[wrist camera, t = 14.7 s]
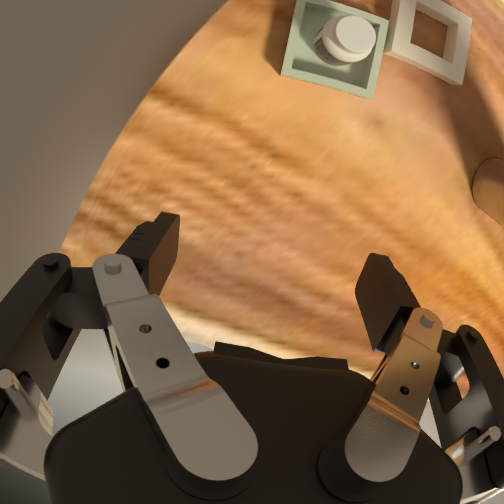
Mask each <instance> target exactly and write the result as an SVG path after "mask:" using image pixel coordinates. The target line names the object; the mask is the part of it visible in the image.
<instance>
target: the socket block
mask: <svg viewBox="0 0 504 504" xmlns="http://www.w3.org/2000/svg"><path fill="white" fill-rule="evenodd" d="M415 10H418V11H420V12H422V13H424V14H426V15H428V16H430V17H432V18H434V19H435V20H437V21H439V22H441V23H443V24H445V25H446V26H448V27H447V34H446V40H445V47H444V53H443V58H441V57H439V56H437V55H435V54H433V53H431V52H429V51H427V50H425V49H423V48H421V47H419V46H416V45H414V44H412V43H410V41H411V35H412V29H413V23H414V17H415ZM471 25H472V19H471V18H470V17H468V16H467V15H465V14H463V13H462V12H460V11H459V10H457V9H455V8H454V7H452V6H450V5H448V4H447V3H445V2H443V1H441V0H392V6H391V12H390V18H389V24H388V29H387V35H386V40H385V45H384V50H383V53H384V54H386V55H389V56H391V57H394V58H396V59H399V60H401V61H404V62H406V63H408V64H410V65H413V66H415V67H417V68H419V69H421V70H424V71H426V72H428V73H430V74H432V75H434V76H436V77H438V78H440V79H442V80H444V81H446V82H447V83H449V84H453V85H462V84H463V79H464V73H465V68H466V62H467V56H468V49H469V42H470V34H471Z"/></svg>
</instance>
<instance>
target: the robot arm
mask: <svg viewBox="0 0 504 504" xmlns="http://www.w3.org/2000/svg"><path fill="white" fill-rule="evenodd" d="M472 193H473V198H474V201H475V203H476V205H477V206H478V207H479V208H480V209H481V210H482V211H484V212H485V213H486V214H487V215H489V216H490V217H491V218H492V219H494V220H495V221H496V222H497V223H498V224H500V225H501V226H502V227H503V228H504V161H502V160H500V159H498V158H490V159H488V160H486V161H485V162H483V163H482V164H481V165H480V167H479V168H478V170H477V172H476V174H475V176H474V180H473V186H472ZM179 226H180V215H178V214H172V213H167V212H161V213H160V214H159V215H158V217H157V218H156V219H155V220H154V222H150V221H146V222H144V223H142V224H140V225H138V226H137V227H136V229H135V230H134V231H133V233H131V235H130V236H129V237H128V239H127V240H126V241H125V242H124V243H123V244H122V246H121V247H120V248H119V249H118V251H117V252H116V253H115V254H108V255H104V256H101V257H99V258H98V259H97V260H95V262H94V263H93V266H92V267H71V263H70V259H69V258H68V257H67V256H66V255H64V254H61V253H51V254H47V255H44V256H42V257H40V258H38V259H37V260H36V261H35V262H34V263H33V265H32V266H31V267H30V268H29V269H28V270H27V271H26V272H25V274H24V275H23V276H22V277H21V278H20V279H19V281H18V282H17V283H16V284H15V285H14V286H13V288H12V289H11V290H10V291H9V292H8V294H7V295H6V296H5V298H4V299H3V300H2V301H1V302H0V465H1V466H3V467H6V468H16V467H18V468H20V469H22V470H24V471H26V472H28V473H30V474H32V475H34V476H36V477H38V478H40V479H42V480H45V481H46V485H47V490H48V497H49V504H479V503H481V502H483V501H485V500H487V499H489V498H491V497H492V496H494V495H496V494H498V493H499V492H501V491H503V490H504V379H503V377H502V374H501V372H500V370H499V368H498V366H497V364H496V362H495V360H494V358H493V356H492V354H491V352H490V350H489V348H488V346H487V344H486V343H485V341H484V339H483V337H482V336H481V334H480V333H479V332H478V331H477V330H476V329H474V328H473V327H471V326H469V325H461V326H460V327H459V328H458V330H457V331H456V333H452V332H450V331H447V330H444V329H443V324H442V322H441V320H440V319H439V317H438V316H437V315H436V314H434V313H433V312H431V311H430V310H428V309H425V308H421V307H420V305H419V303H418V301H417V299H416V298H415V296H414V294H413V292H411V289H410V287H409V285H408V283H407V282H406V280H405V278H404V277H403V276H402V275H401V274H400V273H399V272H398V271H397V270H396V269H395V267H394V266H393V264H392V262H391V261H390V259H389V257H388V256H385V255H380V254H376V253H370V254H369V256H368V258H367V260H366V262H365V265H364V267H363V269H362V272H361V274H360V276H359V279H358V281H357V284H356V288H355V296H356V299H357V302H358V305H359V308H360V311H361V314H362V317H363V320H364V323H365V327H366V330H367V333H368V336H369V339H370V343H371V346H372V349H373V352H385V356H384V357H383V359H382V360H381V362H380V364H379V365H378V367H377V369H376V370H375V372H374V374H373V375H372V377H371V379H370V380H369V379H368V378H366V377H365V376H363V375H361V374H359V373H357V372H355V371H352V370H349V368H348V364H347V359H336V358H326V357H307V358H296V359H281V358H278V357H275V356H272V355H270V354H267V353H264V352H261V351H258V350H255V349H253V348H250V347H244V346H238V345H233V344H227V343H221V342H215V347H214V351H206V352H198V353H194V354H193V353H192V351H191V350H190V348H189V346H188V345H187V343H186V342H185V340H184V338H183V337H182V335H181V333H180V332H179V330H178V328H177V327H176V325H175V323H174V322H173V320H172V318H171V317H170V315H169V313H168V311H167V310H166V308H165V306H164V304H163V303H162V301H161V299H160V297H159V295H160V293H161V291H162V288H163V286H164V284H165V282H166V280H167V278H168V276H169V274H170V272H171V270H172V268H173V265H174V263H175V261H176V257H177V251H178V239H179ZM81 329H103V333H104V336H105V339H106V342H107V345H108V348H109V351H110V354H111V356H112V359H113V362H114V364H115V367H116V370H117V373H118V376H119V379H120V382H121V385H122V388H123V391H124V392H123V393H122V394H120V395H118V396H116V397H115V398H113V399H112V400H110V401H108V402H106V403H105V404H103V405H101V406H99V407H98V408H96V409H94V410H93V411H91V412H89V413H87V414H85V415H84V416H82V417H80V418H78V419H77V420H75V421H73V422H71V423H69V424H68V425H66V426H64V427H63V428H62V429H61V430H59V431H58V432H57V433H56V434H55V435H54V437H53V434H52V426H53V420H54V415H53V411H52V408H51V406H50V405H49V403H48V402H47V400H48V398H49V396H50V393H51V391H52V389H53V386H54V384H55V382H56V380H57V378H58V376H59V374H60V371H61V369H62V367H63V365H64V363H65V361H66V359H67V357H68V355H69V353H70V351H71V348H72V346H73V345H74V343H75V341H76V338H77V337H78V335H79V333H80V331H81ZM464 371H465V373H466V375H467V378H468V380H469V384H470V388H469V392H468V394H467V395H466V396H465V397H464V398H463V399H462V397H461V394H460V391H459V388H458V386H457V383H456V381H457V379H458V378H459V377H460V376H461V375H462V374H463V373H464ZM428 397H429V400H430V403H431V407H432V411H433V415H434V418H435V422H436V426H437V430H438V434H439V438H440V442H441V447H442V449H441V448H440V447H439V446H438V445H437V444H436V443H435V442H434V441H433V440H432V439H431V438H430V437H429V436H428V435H427V434H426V433H425V432H424V431H423V430H422V429H421V427H420V425H419V421H420V419H421V416H422V414H423V411H424V408H425V406H426V403H427V400H428Z"/></svg>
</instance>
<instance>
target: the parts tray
mask: <svg viewBox="0 0 504 504" xmlns="http://www.w3.org/2000/svg"><path fill="white" fill-rule="evenodd" d="M341 15H348V16H351V15H353V16H359V17H362V18H364V19H365V20H367V21H368V22H369V23H370V24H371V25H372V27H373V28H374V30H375V33H376V41H375V44H374V46H373V48H372V50H371V52H370V54H369V55H368V56H367V57H366V58H364V59H362V60H360V61H357V62H354V63H350V64H347V65H344V66H331V65H328V64H326V63H325V62H323V61H322V60H321V59H320V58H319V57H318V56H317V54H316V53H315V50H314V45H313V44H314V38H315V36H316V34H317V33H318V32H319V31H320V29H321V28H322V27H323V26H324V25H325V24H326V22H327V21H329V20H330V19H332V18H333V17H336V16H341ZM388 24H389V20H386V19H384V18H381V17H378V16H376V15H373V14H370V13H367V12H365V11H362V10H359V9H356V8H353V7H350V6H347V5H343V4H340V3H337V2H333V1H330V0H296V4H295V9H294V14H293V18H292V23H291V27H290V32H289V37H288V41H287V46H286V50H285V55H284V60H283V64H282V69H281V74H280V76H283V77H288V78H292V79H297V80H301V81H305V82H309V83H313V84H317V85H321V86H325V87H328V88H332V89H336V90H339V91H342V92H346V93H349V94H352V95H355V96H359V97H362V98H365V99H373V95H374V91H375V86H376V82H377V78H378V73H379V69H380V64H381V59H382V55H383V50H384V45H385V40H386V35H387V29H388Z"/></svg>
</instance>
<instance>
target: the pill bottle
mask: <svg viewBox="0 0 504 504" xmlns="http://www.w3.org/2000/svg"><path fill="white" fill-rule="evenodd" d="M375 41H376V33H375V30H374V28H373V27H372V25H371V24H370V23H369V22H368V21H367V20H365V19H364V18H362V17H359V16H353V15H351V16H348V15H341V16H336V17H333V18H332V19H330V20H329V21H327V22H326V24H325V25H324V26H323V27H322V28H321V29H320V31H319V32H318V33H317V34H316V36H315V38H314V44H313V45H314V50H315V53H316V54H317V56H318V57H319V58H320V59H321V60H322V61H323V62H325V63H326V64H328V65H331V66H344V65H347V64H350V63H354V62H357V61H360V60H362V59H364V58H366V57H367V56H368V55H369V54H370V52H371V50H372V48H373V46H374V44H375Z"/></svg>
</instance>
